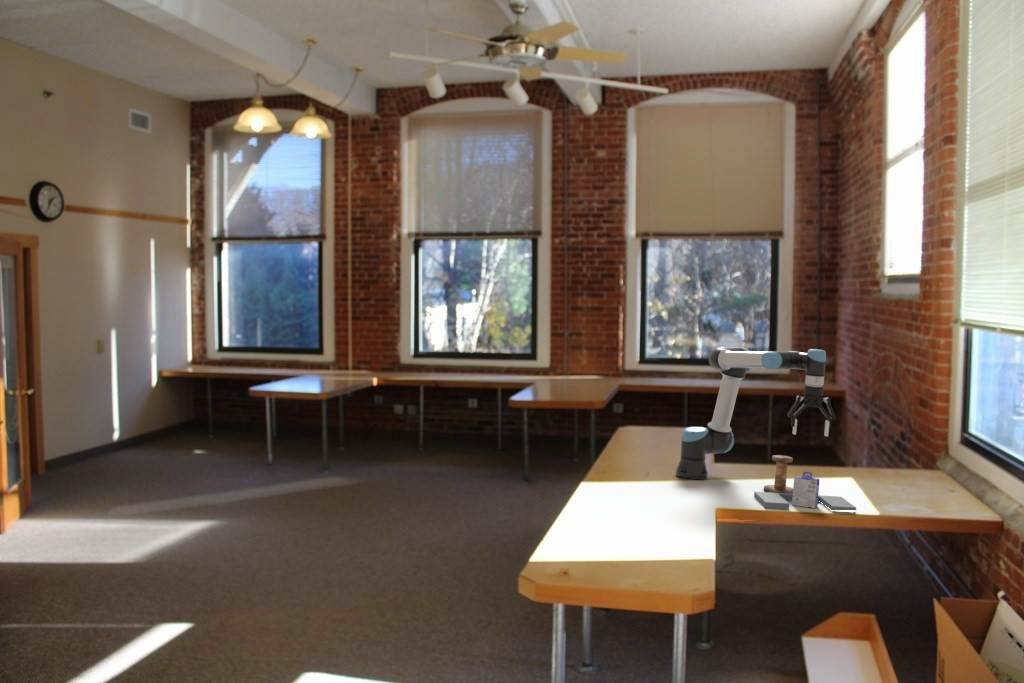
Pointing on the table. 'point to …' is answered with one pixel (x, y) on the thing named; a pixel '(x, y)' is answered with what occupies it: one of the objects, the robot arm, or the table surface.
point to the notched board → (780, 498)
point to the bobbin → (780, 476)
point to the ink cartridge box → (805, 491)
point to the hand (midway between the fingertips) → (810, 435)
